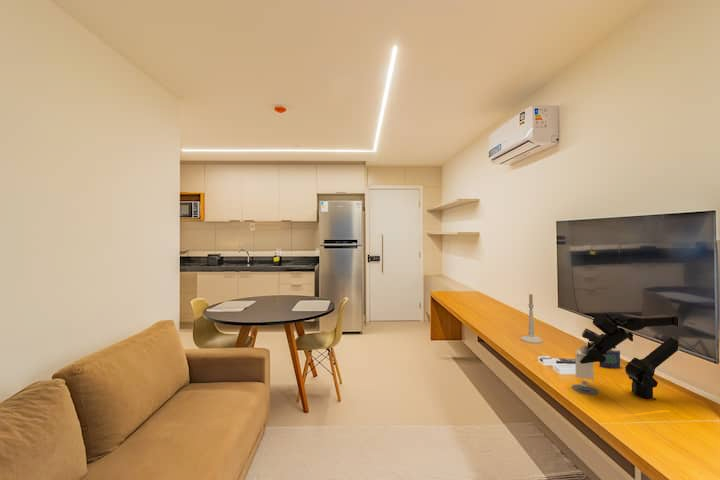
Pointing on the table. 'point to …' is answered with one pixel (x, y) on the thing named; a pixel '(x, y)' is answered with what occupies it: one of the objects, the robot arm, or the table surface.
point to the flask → (612, 359)
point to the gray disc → (578, 389)
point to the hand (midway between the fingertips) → (580, 360)
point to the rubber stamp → (586, 368)
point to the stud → (585, 386)
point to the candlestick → (531, 326)
